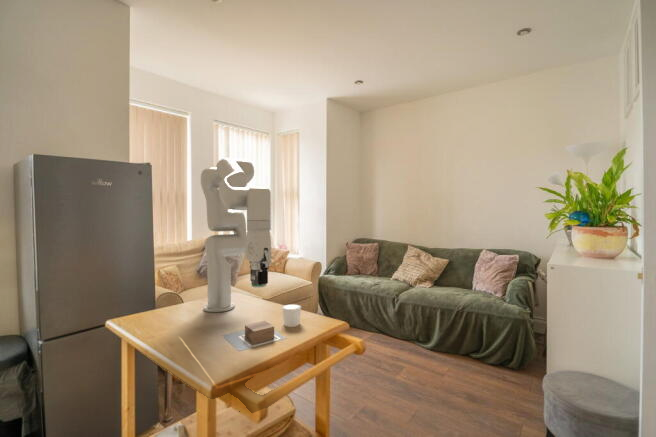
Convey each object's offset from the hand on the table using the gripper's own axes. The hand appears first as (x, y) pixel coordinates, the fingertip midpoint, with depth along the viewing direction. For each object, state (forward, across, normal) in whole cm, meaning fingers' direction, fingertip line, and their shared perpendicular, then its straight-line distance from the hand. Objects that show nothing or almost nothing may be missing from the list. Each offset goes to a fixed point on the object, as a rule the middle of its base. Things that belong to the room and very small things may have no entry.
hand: (259, 281), depth 102 cm
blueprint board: (+19, -2, -1) cm, 19 cm away
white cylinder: (+19, -5, +15) cm, 25 cm away
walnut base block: (+18, 0, 0) cm, 18 cm away
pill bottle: (+2, 0, 0) cm, 2 cm away
